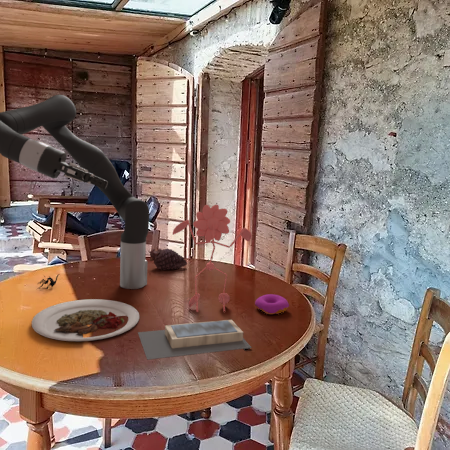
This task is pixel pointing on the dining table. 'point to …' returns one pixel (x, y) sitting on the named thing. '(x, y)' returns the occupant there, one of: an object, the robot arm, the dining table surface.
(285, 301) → the donut
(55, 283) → the creature
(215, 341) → the birch picture frame
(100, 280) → the dining table surface
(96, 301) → the plated food
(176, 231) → the figurine
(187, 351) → the rubber mat
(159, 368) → the dining table surface
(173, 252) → the pine cone
